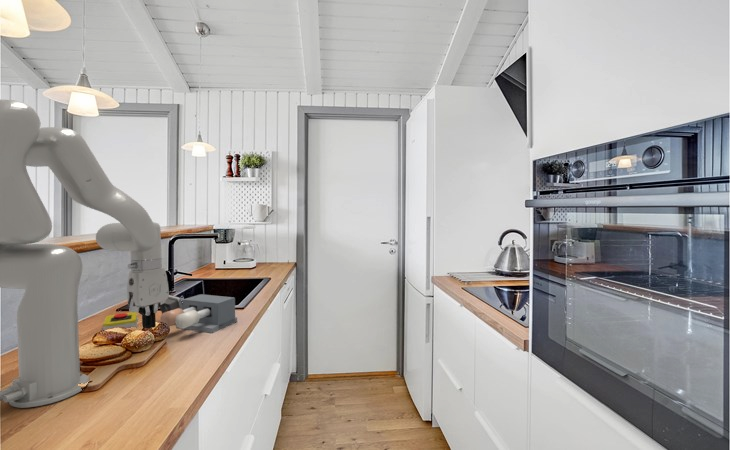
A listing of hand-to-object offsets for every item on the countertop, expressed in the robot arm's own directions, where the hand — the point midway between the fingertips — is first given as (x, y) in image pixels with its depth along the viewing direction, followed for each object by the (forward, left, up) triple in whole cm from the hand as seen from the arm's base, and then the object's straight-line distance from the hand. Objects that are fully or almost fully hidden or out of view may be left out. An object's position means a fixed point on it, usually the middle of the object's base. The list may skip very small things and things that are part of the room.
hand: (149, 327), depth 100 cm
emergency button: (+9, +24, -6) cm, 26 cm away
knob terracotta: (+11, 0, -2) cm, 11 cm away
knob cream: (+11, -6, -2) cm, 13 cm away
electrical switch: (+18, +11, -5) cm, 22 cm away
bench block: (+19, -3, -5) cm, 20 cm away
